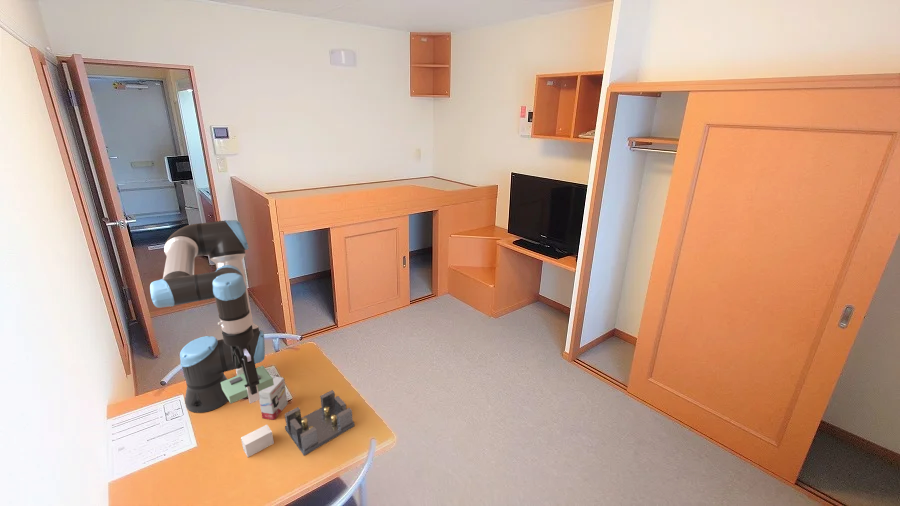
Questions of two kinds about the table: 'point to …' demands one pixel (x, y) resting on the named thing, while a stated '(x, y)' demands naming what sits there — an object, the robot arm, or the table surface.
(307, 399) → the table surface
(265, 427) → the riser
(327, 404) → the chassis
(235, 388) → the board
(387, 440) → the table surface
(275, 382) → the ink box
